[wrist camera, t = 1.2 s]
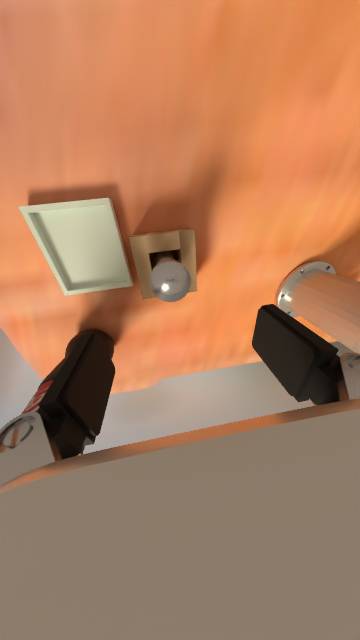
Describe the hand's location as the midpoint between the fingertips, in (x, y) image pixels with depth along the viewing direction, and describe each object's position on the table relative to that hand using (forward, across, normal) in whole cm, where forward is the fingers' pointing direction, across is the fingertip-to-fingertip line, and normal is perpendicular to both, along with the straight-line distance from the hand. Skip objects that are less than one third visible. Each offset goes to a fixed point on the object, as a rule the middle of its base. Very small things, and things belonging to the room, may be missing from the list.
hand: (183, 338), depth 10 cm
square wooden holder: (+22, 0, 0) cm, 22 cm away
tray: (+22, +12, -3) cm, 25 cm away
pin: (+22, 0, 0) cm, 22 cm away
